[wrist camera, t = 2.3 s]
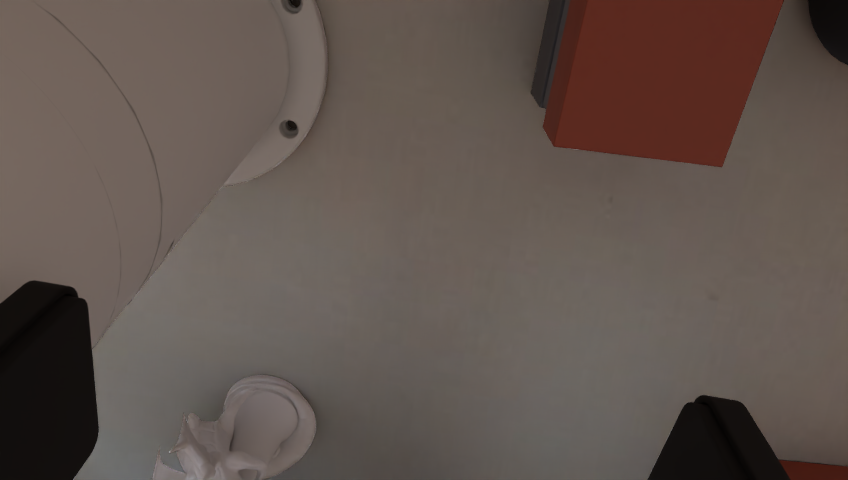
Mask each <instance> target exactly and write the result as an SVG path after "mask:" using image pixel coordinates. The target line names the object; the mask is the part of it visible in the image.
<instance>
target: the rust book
mask: <svg viewBox="0 0 848 480" xmlns="http://www.w3.org/2000/svg"><path fill="white" fill-rule="evenodd" d="M783 1H784V0H570V4H569V9H568V14H567V18H566V23H565V27H564V32H563V36H562V41H561V45H560V50H559V54H558V59H557V64H556V68H555V73H554V77H553V82H552V86H551V91H550V95H549V100H548V104H547V109H546V114H545V118H544V123H543V129H544V131H545V132H546V134H547V136H548V138H549V139H550V141H551V143H552V144H553V146H554V147H562V148H570V149H578V150H586V151H595V152H603V153H611V154H619V155H627V156H635V157H643V158H652V159H660V160H668V161H676V162H684V163H692V164H700V165H708V166H717V167H722V166H723V163H724V161H725V158H726V155H727V153H728V150H729V147H730V145H731V142H732V139H733V136H734V134H735V131H736V128H737V126H738V123H739V120H740V118H741V115H742V112H743V109H744V107H745V104H746V101H747V99H748V96H749V93H750V91H751V88H752V85H753V82H754V80H755V77H756V74H757V72H758V69H759V66H760V63H761V61H762V58H763V55H764V53H765V50H766V47H767V45H768V42H769V39H770V36H771V34H772V31H773V28H774V26H775V23H776V20H777V18H778V15H779V12H780V9H781V7H782V4H783Z"/></svg>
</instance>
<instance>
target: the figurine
mask: <svg viewBox="0 0 848 480" xmlns="http://www.w3.org/2000/svg"><path fill="white" fill-rule="evenodd" d="M315 432H316V419H315V414H314V412H313V409H312V408H311V406H310V404H309V403H308V402H307V401H306V399H305V398H303V396H302V395H301V393H300V392H299V391H298V390H297V389H296V388H295V387H294V386H293V385H292V384H290V383H289V382H287V381H285V380H283V379H281V378H277V377H274V376H269V375H254V376H249V377H246V378H243V379H241V380H239V381H238V382H236V383H235V384H234V385H233V386H232V387H231V389H230V390H229V392H228V394H227V397H226V400H225V404H224V413H223V414H222V415H221V416H220V418H219V419H218V420H217V421H213V422H212V421H202V420H201V419H200V418H199V417H198V416H197V415H196V414H195V413H190V415H189V416H188V423H187V421H186V418H185V415H184V414H183V424H182V429H181V432H180V436H179V438H178V441H177V443H176V445H175V446H174V447H173V448H172V449H171V450H170V451H169V453H172V452H175V451H177V457H178V459H179V461H180V464H181V466H182V468H183V470H184V472H185V473H183V472H180V471H176V470H173V469H172V468H170V467H168V466H165V465H164V463H163V462H162V461H161V458H160V446H159V450H158V454H157V459H156V463H155V467H154V472H153V476H152V480H264V479H268V478H270V477H273V476H275V475H277V474H279V473H281V472H284V471H285V470H287V469H289V468H290V467H291V466H293V465H294V464H295V463H296V462H297V461H299V460H300V459H301V458H302V457H303V456H304V454H305V453H306V452H307V450H308V448H309V447H310V445H311V443H312V442H313V439H314V436H315ZM280 443H281V444H280Z"/></svg>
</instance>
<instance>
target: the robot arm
mask: <svg viewBox="0 0 848 480" xmlns="http://www.w3.org/2000/svg"><path fill="white" fill-rule="evenodd" d="M300 1H301V4H300V6H299V7H295V6H293V5H292V4H291V1H290V0H0V480H73V479H74V477H75V476H76V475H77V473H78V472H79V470H80V469H81V467H82V466H83V464H84V463H85V462H86V460H87V459H88V457H89V456H90V454H91V453H92V451H93V449H94V447H95V444H96V441H97V438H98V432H99V426H98V415H97V403H96V392H95V380H94V368H93V357H92V349H93V348H94V347H95V345H96V344H97V343H98V341H99V340H100V339H101V337H102V336H103V335H104V333H105V332H106V331H107V329H108V328H109V327H110V326H111V324H112V323H113V322H114V321H115V319H116V318H117V317H118V316H119V314H120V313H121V312H122V311H123V309H124V308H125V307H126V306H127V305H128V304H129V303H130V302H131V301H132V299H133V298H134V297H135V296H136V294H137V293H138V292H139V291H140V290H141V288H142V287H143V286H144V285H145V283H146V282H147V281H148V280H149V278H150V277H151V276H152V275H153V273H154V272H155V271H156V270H157V268H158V267H159V266H160V265H161V263H162V262H163V261H164V260H165V258H166V257H167V256H168V254H169V253H170V252H171V251H172V249H173V248H174V247H175V246H176V244H177V243H178V242H179V241H180V239H181V238H182V237H183V235H184V234H185V233H186V232H187V230H188V229H189V228H190V227H191V225H192V224H193V223H194V222H195V220H196V219H197V218H198V216H199V215H200V214H201V213H202V211H203V210H204V209H205V208H206V206H207V205H208V204H209V202H210V201H211V200H212V199H213V197H214V196H215V195H216V194H217V192H218V191H219V190H220V189H221V187H226V186H233V185H236V184H239V183H243V182H246V181H249V180H252V179H255V178H257V177H259V176H261V175H262V174H264V173H266V172H268V171H270V170H272V169H274V168H275V167H276V166H278V165H279V164H280V163H281V162H282V161H283V160H285V159H286V158H287V157H288V156H289V155H291V154H292V153H293V152H294V150H295V149H296V148H297V147H298V146H299V144H300V143H301V142H302V141H303V139H304V138H305V137H306V135H307V133H308V132H309V130H310V128H311V126H312V124H313V123H314V121H315V119H316V117H317V114H318V111H319V108H320V106H321V103H322V100H323V97H324V94H325V87H326V81H327V74H328V53H327V40H326V35H325V31H324V26H323V22H322V17H321V13H320V11H319V9H318V6H317V4H316V1H315V0H300ZM289 120H291V121H293V122H295V123H296V125H297V128H295V129H292V128H290V127H289V126H288V123H287V122H288V121H289ZM648 480H791V479H790V478H789V476H788V474H787V473H786V471H785V470H784V468H783V466H782V465H781V463H780V461H779V460H778V458H777V457H776V455H775V453H774V452H773V450H772V449H771V447H770V445H769V444H768V442H767V440H766V439H765V437H764V436H763V434H762V432H761V431H760V429H759V428H758V426H757V424H756V423H755V421H754V419H753V418H752V416H751V415H750V413H749V411H748V410H747V408H746V407H745V406H744V405H743V403H741V402H739V401H736V400H730V399H724V398H718V397H712V396H707V395H702V396H699V397H698V398H697V399H696V400H695V401H694V403H692V402H689V403H687V404H685V405H684V407H683V408H682V410H681V412H680V414H679V416H678V418H677V420H676V422H675V425H674V427H673V429H672V431H671V433H670V435H669V437H668V439H667V441H666V443H665V445H664V447H663V449H662V451H661V453H660V455H659V457H658V459H657V461H656V463H655V465H654V467H653V469H652V471H651V474H650V476H649V478H648Z"/></svg>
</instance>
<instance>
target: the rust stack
mask: <svg viewBox="0 0 848 480" xmlns="http://www.w3.org/2000/svg"><path fill="white" fill-rule="evenodd" d="M779 461H780V463H781V465H782V466H783V468H784V470H785V471H786V473H787V474H788V476H789V478H790V479H791V480H848V467H846V466H836V465H826V464H816V463H805V462H795V461H785V460H779Z"/></svg>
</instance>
